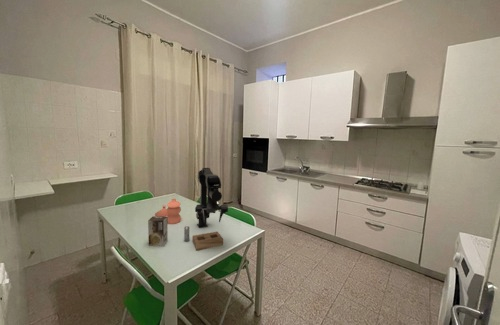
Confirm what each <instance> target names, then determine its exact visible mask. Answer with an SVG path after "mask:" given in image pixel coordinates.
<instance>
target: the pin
mask: <svg viewBox="0 0 500 325" xmlns="http://www.w3.org/2000/svg"><path fill="white" fill-rule="evenodd" d="M183 229H184V231H183V232H184V234H183V235H184V236H183V241H184V242H185V243H188V242H190V226H184V228H183Z"/></svg>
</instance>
